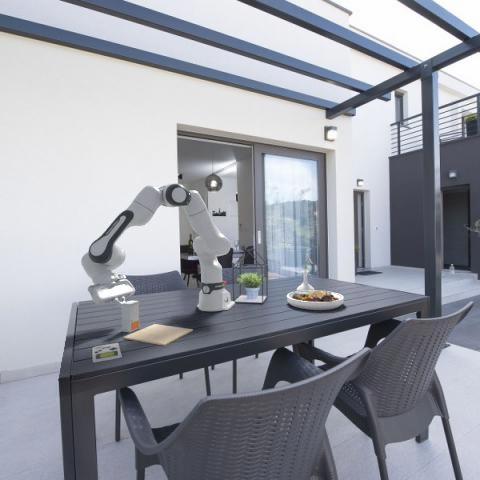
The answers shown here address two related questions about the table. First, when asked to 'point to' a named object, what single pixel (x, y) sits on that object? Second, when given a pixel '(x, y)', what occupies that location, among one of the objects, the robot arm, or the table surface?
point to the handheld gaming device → (106, 352)
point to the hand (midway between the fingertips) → (123, 306)
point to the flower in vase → (305, 279)
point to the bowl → (315, 300)
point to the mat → (158, 334)
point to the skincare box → (130, 316)
